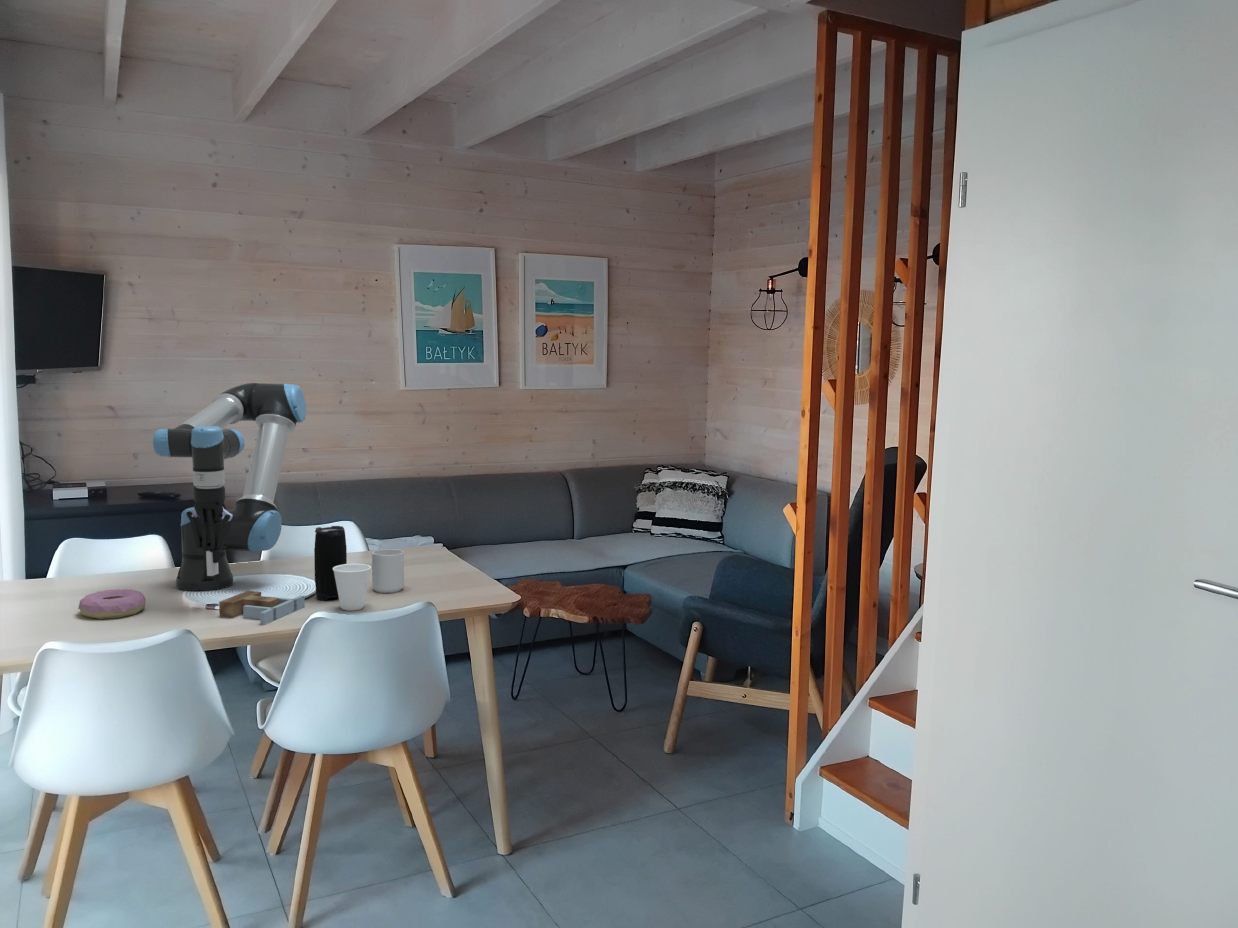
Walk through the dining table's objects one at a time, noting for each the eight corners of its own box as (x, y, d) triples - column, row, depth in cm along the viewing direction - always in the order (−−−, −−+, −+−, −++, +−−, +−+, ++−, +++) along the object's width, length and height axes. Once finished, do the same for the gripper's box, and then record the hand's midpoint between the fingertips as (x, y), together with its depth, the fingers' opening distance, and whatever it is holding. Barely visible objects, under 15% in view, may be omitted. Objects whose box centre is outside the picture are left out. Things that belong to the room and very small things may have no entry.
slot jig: (234, 621, 240) (233, 609, 240) (276, 603, 258) (275, 593, 257) (264, 624, 238) (264, 612, 238) (304, 606, 256) (304, 595, 255)
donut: (71, 612, 246) (70, 593, 246) (134, 602, 257) (134, 584, 256) (90, 624, 235) (89, 605, 235) (155, 614, 246) (154, 595, 245)
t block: (219, 616, 244) (219, 601, 244) (248, 605, 256) (247, 590, 256) (261, 620, 242) (260, 605, 241) (288, 608, 253) (287, 594, 253)
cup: (375, 603, 261) (374, 563, 259) (366, 613, 251) (366, 571, 250) (338, 602, 260) (337, 563, 259) (328, 612, 250) (328, 571, 249)
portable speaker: (339, 591, 272) (339, 524, 270) (352, 598, 265) (351, 529, 263) (309, 595, 267) (309, 526, 265) (321, 603, 260) (321, 532, 257)
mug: (405, 592, 273) (405, 554, 272) (373, 594, 270) (373, 555, 269) (401, 583, 284) (401, 546, 283) (370, 584, 281) (370, 547, 280)
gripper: (177, 487, 246) (181, 576, 250) (221, 490, 243) (225, 580, 247) (196, 482, 253) (200, 569, 257) (240, 485, 250) (243, 573, 254)
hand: (212, 574), depth 252 cm, fingers closed
